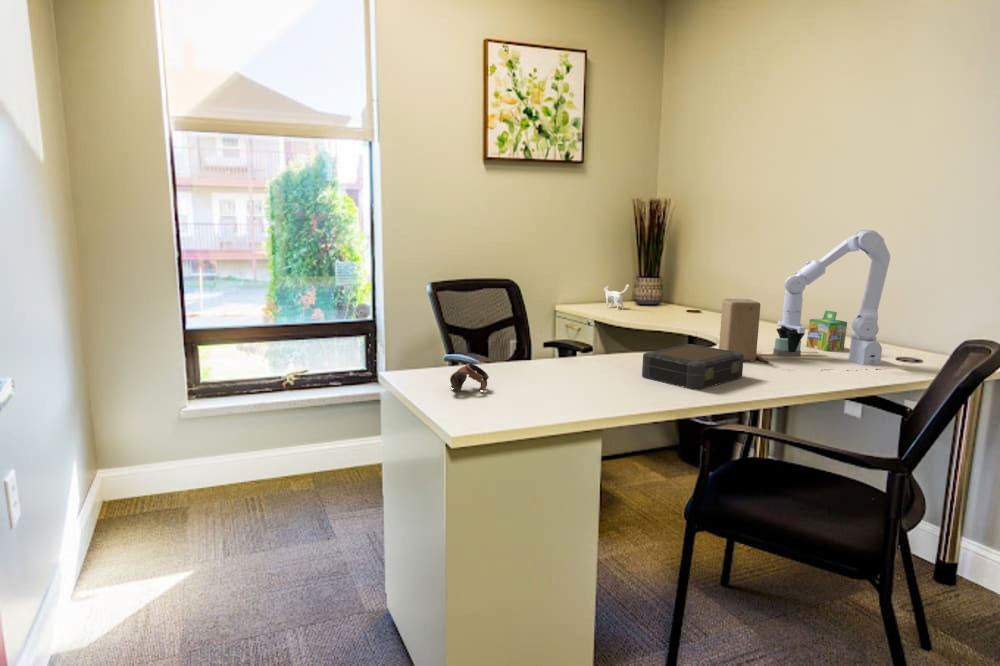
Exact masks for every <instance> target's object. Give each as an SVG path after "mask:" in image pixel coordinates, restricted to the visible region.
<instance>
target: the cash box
mask: <svg viewBox="0 0 1000 666" xmlns="http://www.w3.org/2000/svg"><path fill="white" fill-rule="evenodd" d="M743 360H744V355H743V354H742V353H738V352H733V351H727V350H722V349H719V348H716V347H709V346H704V345H699V344H693V343H688V344H687V343H686V344H683V345H678V346H673V347H668V348H663V349H662V348H661V349H656V350H651V351H646V352H644V353H643V354H642V366H641V367H642V368H641V377H642V378H645V379H648V380H653V381H656V380H657V381H656V382H660V381H661V383H664V382H666V383H665V384H668V383H670V385H672V384H674V385H673V386H676V385H679V386H678V387H681V386H684V387H683V388H685V387H687V388H686V389H689V388H691V389H690V390H694V389H699V390H702V389H701V388H703V389H706V388H705V387H707V388H709V387H708V386H710V387H713V386H712V385H714V386H716V385H715V384H717V385H720V384H719V383H721V384H724V383H723V382H725V383H727V382H726V381H728V382H731V381H730V380H732V381H734V379H735V380H738V378H739V379H741V378H743V371H744V370H743V369H744V361H743Z"/></svg>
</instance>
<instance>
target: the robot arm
mask: <svg viewBox="0 0 1000 666" xmlns="http://www.w3.org/2000/svg"><path fill="white" fill-rule="evenodd" d="M860 250H861V251H862V252H864V253H865V254H866V255H867V256H868V258H869V259H870V260H871V263H870V267H869V271H868V275H867V279H866V285H865V287H864V292H863V297H862V299H861V300H862V301H861V305H860V308H859V310H858V312H857V315H856V317H855V318H854V319H853V321H852V323H851V328H852V330H853V331H854V332H853V333H852V334H851V336H850V338H851V339H850V345H849V355H848V356H849V357H848V361H849V362H853V363H856V364H860V365H863V366H866V365H868V366H869V365H873V366H874V365H881V361H882V353H883V347H882V345H881V343H879V342H878V341H877V335H878V333H879V330H880V329H879V325H878V324H879V323H878V320H879V313H878V310H879V305H880V302H881V299H882V298H881V297H882V294H883V289H884V285H885V282H886V277H887V272H888V268H889V266H890V261H891V254H890V252H889V249H888V247H887V244H886V243H885V239H884V237H883V236H882V235H881V234H880V233H879V232H877V231H876V230H874V229H861V230H859V231H857V232H856V233H855V234H852V235H850V236H848V237H847V238H846V239H845V240H842V242H840V243H839V244H838V245H837V246H835V247H834V248H833V249H832V250H830V251H829V252H828V253H826V254H825V255H824V256H823V257H822V258H820V259H812V260H811V261H810V260H808V261H806V262H805V265H804V266H803V267H802V268H800V269H799V270H796V271H794V272H793V274H794V275H790V276H789V277H787V278H786V280H785V281H784V284H783V285H784V289H785V292H784V297H783V305H782V306H783V308H782V317H781V318H782V320H777V323H776V324H777V325H776V326H777V327H778V328H776V332H777V334H778V338H788V349H789V352H796V350H797V347H798V344H799V342H800V340H801V341H802V339H803V338H804V336H805V334H806V333H805V332H806V327H805V326H803V325H802V324H801V320H802V311H803V310H802V309H803V301H804V300H803V293H804V291H805V289H806V286H809V285H810V284H812V283H813V282H815V281H817V279H818V278H820V277H822V276H823V275H824V274H825V273H826V268H827V267H829V266H830V265H831V264H834V263H835V262H836V261H838V260H839V259H841V258H842V257H843V256H844V255H847V254H848V253H853V252H856V251H860ZM779 327H780V328H779Z"/></svg>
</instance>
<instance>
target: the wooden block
mask: <svg viewBox="0 0 1000 666" xmlns="http://www.w3.org/2000/svg"><path fill="white" fill-rule="evenodd" d="M760 315H761V302H759V301H756V300H753V299H750V298H724V299H722V305H721V316H720V328H719V329H720V330H719V331H720V332H719V343H718V344H719V345H718V349H722V350H727V351H733V352H738V353H742V354H743V355H744V360H743V362H754V361H756V359H757V358H756V356H757V355H756V352H758V351H757V350H758V339H759V325H760Z"/></svg>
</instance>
